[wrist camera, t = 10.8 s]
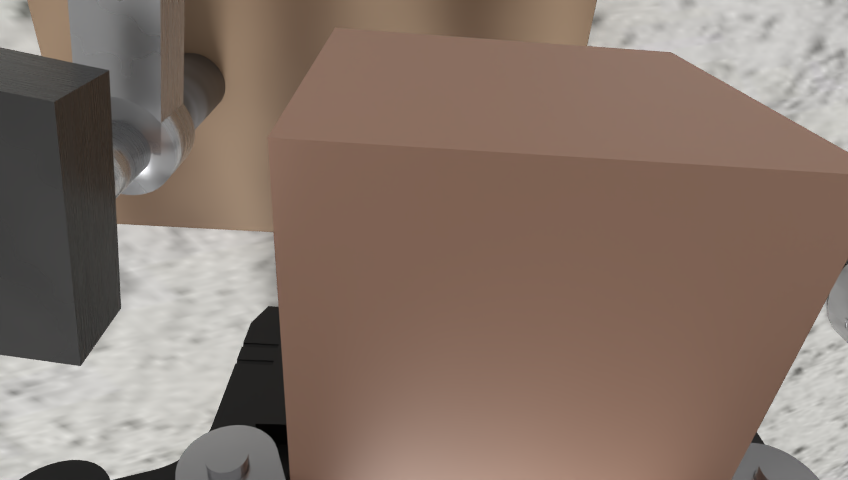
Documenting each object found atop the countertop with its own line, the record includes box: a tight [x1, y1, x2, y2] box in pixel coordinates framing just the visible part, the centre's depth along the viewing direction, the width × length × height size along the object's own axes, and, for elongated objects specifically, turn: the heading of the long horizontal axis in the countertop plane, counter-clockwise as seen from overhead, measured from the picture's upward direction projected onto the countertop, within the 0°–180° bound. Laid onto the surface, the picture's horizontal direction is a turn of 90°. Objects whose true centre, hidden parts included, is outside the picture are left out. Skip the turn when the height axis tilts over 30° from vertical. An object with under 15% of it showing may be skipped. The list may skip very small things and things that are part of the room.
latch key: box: [0, 0, 195, 366], centre depth 14 cm, size 14×3×8 cm, turn 167°
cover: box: [267, 28, 848, 480], centre depth 10 cm, size 6×11×5 cm, turn 176°
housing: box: [27, 0, 597, 232], centre depth 23 cm, size 22×14×8 cm, turn 86°
